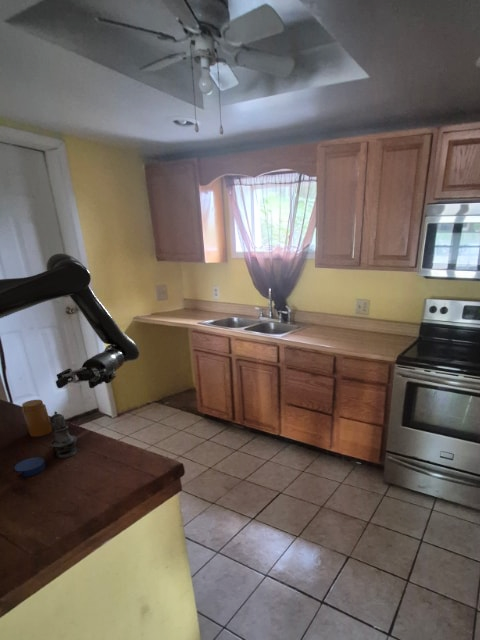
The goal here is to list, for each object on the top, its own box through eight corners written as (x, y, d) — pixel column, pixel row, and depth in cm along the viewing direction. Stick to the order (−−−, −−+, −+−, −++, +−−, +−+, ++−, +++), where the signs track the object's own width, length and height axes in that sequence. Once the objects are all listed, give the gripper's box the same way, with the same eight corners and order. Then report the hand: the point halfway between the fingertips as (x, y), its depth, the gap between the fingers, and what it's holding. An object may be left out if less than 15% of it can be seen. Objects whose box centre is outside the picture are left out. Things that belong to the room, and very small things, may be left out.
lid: (51, 464, 92) (49, 458, 91) (32, 478, 87) (30, 472, 86) (30, 462, 93) (28, 456, 92) (10, 475, 87) (7, 469, 87)
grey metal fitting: (84, 450, 98) (73, 409, 93) (61, 461, 93) (49, 418, 88) (71, 444, 101) (60, 404, 96) (49, 454, 96) (36, 413, 91)
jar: (26, 440, 103) (15, 406, 99) (41, 431, 108) (31, 398, 104) (43, 441, 102) (33, 407, 98) (58, 432, 107) (48, 399, 103)
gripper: (126, 377, 117) (103, 397, 102) (80, 377, 117) (50, 397, 102) (122, 355, 114) (98, 371, 99) (75, 354, 114) (43, 371, 99)
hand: (74, 384), depth 101 cm, fingers open, 8 cm apart
